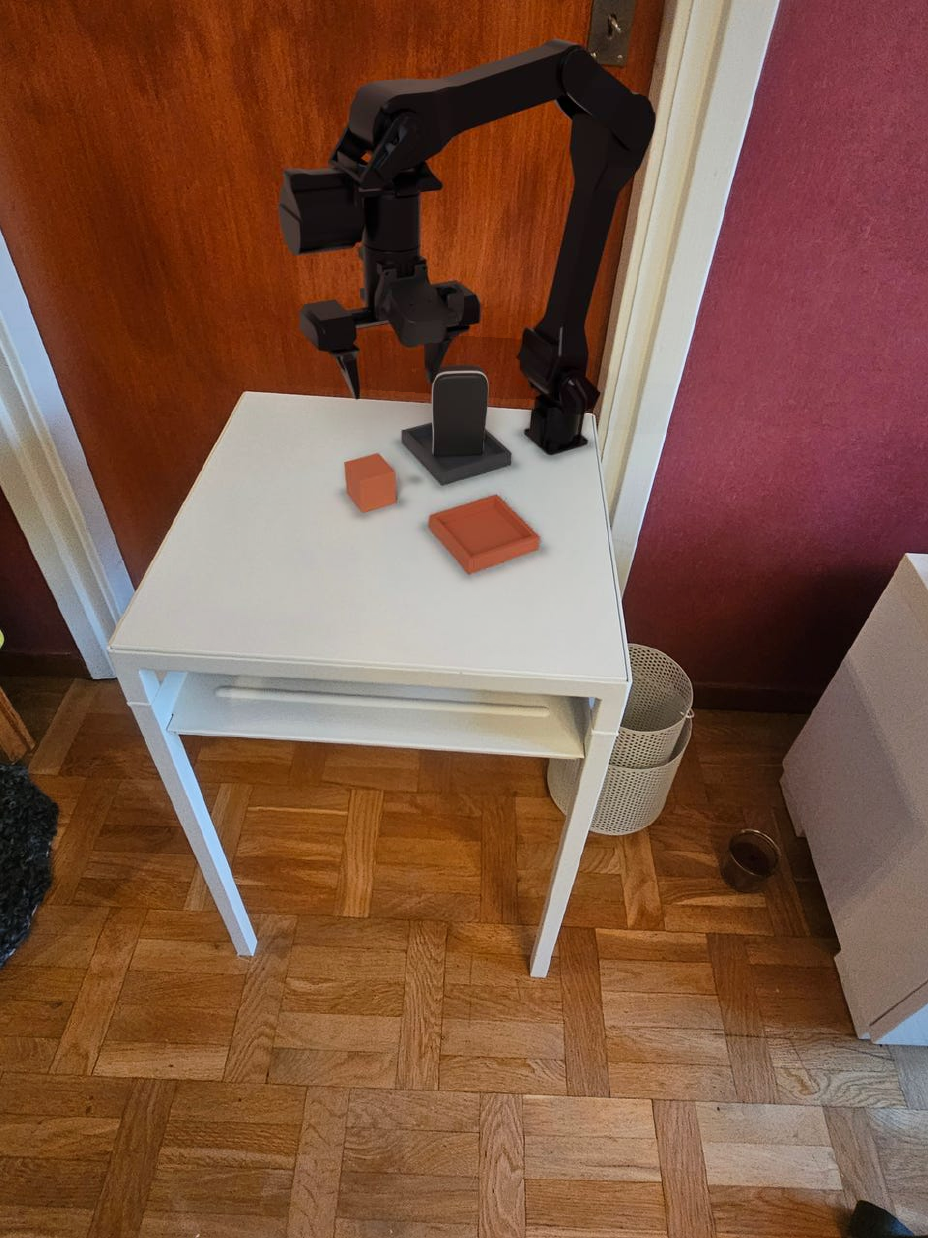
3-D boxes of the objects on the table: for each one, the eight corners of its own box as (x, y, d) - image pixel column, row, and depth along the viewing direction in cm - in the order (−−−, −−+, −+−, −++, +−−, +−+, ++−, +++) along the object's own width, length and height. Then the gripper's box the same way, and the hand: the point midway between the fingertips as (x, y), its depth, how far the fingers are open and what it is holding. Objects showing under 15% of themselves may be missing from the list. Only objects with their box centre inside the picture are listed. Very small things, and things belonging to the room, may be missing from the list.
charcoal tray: (467, 424, 103) (468, 412, 102) (510, 465, 97) (511, 452, 95) (401, 442, 100) (401, 429, 98) (441, 485, 93) (442, 472, 92)
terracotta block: (380, 483, 93) (378, 452, 89) (396, 503, 90) (395, 471, 87) (346, 493, 91) (343, 461, 88) (362, 513, 88) (359, 481, 85)
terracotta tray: (495, 506, 90) (496, 493, 89) (538, 549, 85) (540, 536, 83) (428, 528, 87) (428, 515, 85) (468, 574, 81) (469, 561, 80)
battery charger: (481, 440, 100) (485, 359, 92) (485, 456, 97) (490, 374, 89) (429, 442, 99) (429, 361, 91) (432, 458, 96) (432, 375, 88)
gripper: (334, 284, 65) (345, 442, 75) (515, 257, 72) (501, 405, 83) (289, 243, 71) (305, 393, 82) (459, 222, 78) (452, 363, 89)
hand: (393, 389), depth 84 cm, fingers open, 9 cm apart
